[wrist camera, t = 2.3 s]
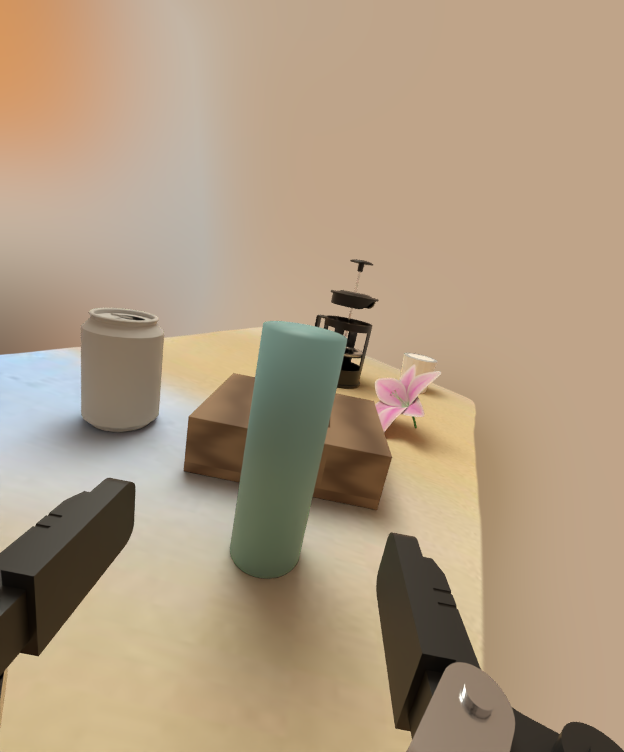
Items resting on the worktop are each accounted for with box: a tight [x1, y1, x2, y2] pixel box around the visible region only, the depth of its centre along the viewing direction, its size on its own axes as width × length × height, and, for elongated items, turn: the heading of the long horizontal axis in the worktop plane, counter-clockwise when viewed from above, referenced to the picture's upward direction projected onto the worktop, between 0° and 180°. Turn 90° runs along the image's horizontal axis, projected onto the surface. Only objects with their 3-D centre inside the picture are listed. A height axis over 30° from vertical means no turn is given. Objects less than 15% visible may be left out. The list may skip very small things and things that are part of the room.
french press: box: [315, 260, 378, 388], centre depth 66 cm, size 12×9×23 cm
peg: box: [230, 321, 347, 578], centre depth 23 cm, size 5×5×16 cm
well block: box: [184, 373, 392, 510], centre depth 37 cm, size 18×14×6 cm
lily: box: [375, 364, 441, 432], centre depth 50 cm, size 12×12×10 cm
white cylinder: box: [400, 353, 437, 393], centre depth 73 cm, size 7×7×7 cm
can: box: [81, 308, 164, 432], centre depth 37 cm, size 8×8×12 cm
